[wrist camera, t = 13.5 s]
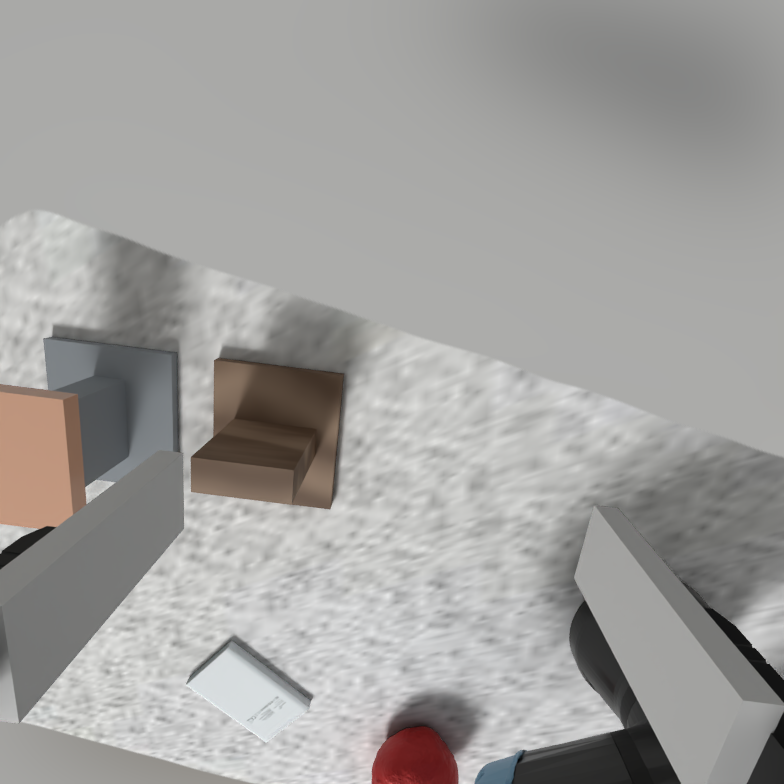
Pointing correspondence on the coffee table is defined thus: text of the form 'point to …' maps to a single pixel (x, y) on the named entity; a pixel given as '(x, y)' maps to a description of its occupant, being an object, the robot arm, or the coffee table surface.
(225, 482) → the walnut stand
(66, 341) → the slate stand
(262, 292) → the coffee table surface
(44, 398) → the terracotta tile
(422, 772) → the pomegranate
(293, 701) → the external hard drive
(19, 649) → the robot arm
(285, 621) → the coffee table surface
